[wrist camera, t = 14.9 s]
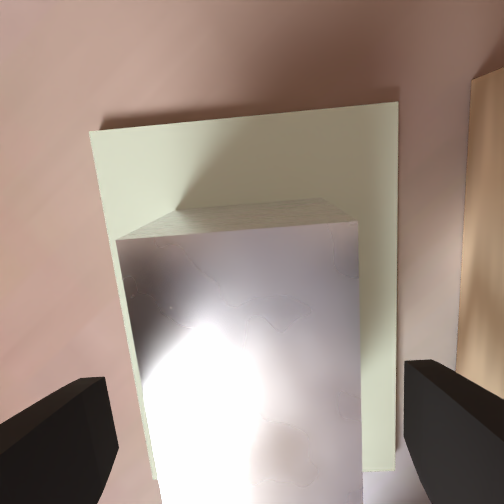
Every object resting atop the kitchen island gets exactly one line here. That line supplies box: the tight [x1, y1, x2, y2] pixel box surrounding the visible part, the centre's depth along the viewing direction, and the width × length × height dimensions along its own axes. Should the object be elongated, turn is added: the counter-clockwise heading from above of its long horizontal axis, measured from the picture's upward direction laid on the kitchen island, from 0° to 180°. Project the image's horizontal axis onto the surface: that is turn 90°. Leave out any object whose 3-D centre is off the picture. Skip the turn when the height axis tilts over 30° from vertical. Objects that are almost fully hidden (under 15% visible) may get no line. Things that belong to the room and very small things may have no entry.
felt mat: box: [89, 102, 398, 480], centre depth 13 cm, size 14×10×1 cm
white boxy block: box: [115, 198, 363, 504], centre depth 11 cm, size 8×5×5 cm, turn 5°
